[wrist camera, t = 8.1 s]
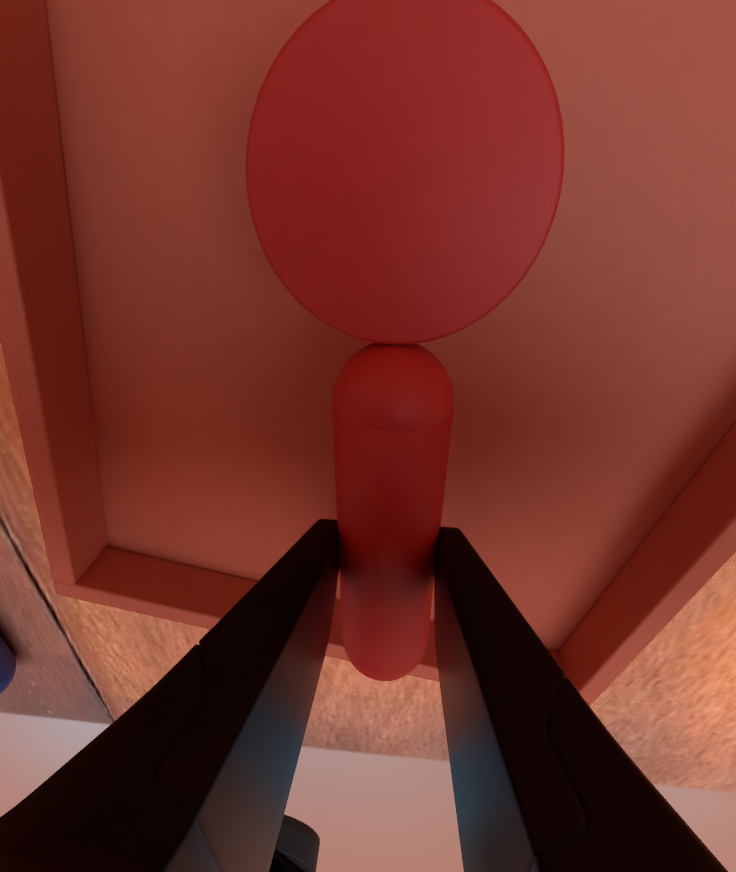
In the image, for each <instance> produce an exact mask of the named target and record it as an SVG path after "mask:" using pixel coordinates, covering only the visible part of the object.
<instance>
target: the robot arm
mask: <svg viewBox="0 0 736 872" xmlns="http://www.w3.org/2000/svg"><path fill="white" fill-rule="evenodd" d="M339 568H340V562H339V538H338V524H337V520H336V519H319V520H317V521H316V522H315V523H314V524H313V525H312V526H311V527H310V528H309V529H308V530H307V532H306V533H305V534H304V535H303V536H302V537H301V538H300V539H299V540H298V541H297V542H296V543H295V544H294V545H293V546H292V547H291V548H290V549H289V550H288V551H287V552H286V553H285V554H284V555H283V556H282V557H281V558H280V559H279V560H278V561H277V562H276V563H275V564H274V565H273V566H272V567H271V568H270V569H269V570H268V571H267V572H266V573H265V574H264V576H263V577H262V578H261V579H260V580H259V581H258V582H257V583H256V584H255V585H254V586H253V587H252V588H251V589H250V590H249V591H248V592H247V593H246V594H245V595H244V596H243V597H242V598H241V599H240V600H239V601H238V602H237V603H236V604H235V605H234V606H233V607H232V608H231V609H230V610H229V611H228V612H227V613H226V614H225V615H224V616H223V617H222V618H221V619H220V621H219V622H218V623H217V624H216V625H215V626H214V627H213V628H212V629H211V630H210V631H209V632H208V633H207V634H206V635H205V636H204V637H203V638H202V639H201V640H200V641H199V645H200V646H199V645H195V646H194V647H193V648H192V649H191V650H190V651H189V652H188V653H187V654H186V655H185V656H184V657H183V658H182V659H181V660H180V661H179V662H178V663H177V664H176V665H175V666H174V667H173V668H172V669H171V670H170V671H169V672H168V673H167V674H166V675H165V676H164V677H163V678H162V679H161V680H160V681H159V682H158V683H157V684H156V685H155V686H154V687H153V688H152V689H150V690H149V691H148V692H147V693H146V694H145V695H144V696H143V697H141V698H140V699H139V700H138V701H137V702H136V703H135V704H134V705H133V706H131V707H130V708H129V709H128V710H127V711H126V712H125V713H124V714H123V715H121V716H120V717H119V718H118V719H117V720H116V721H115V722H113V723H112V724H111V725H110V726H109V727H108V728H106V729H105V730H104V731H103V732H102V733H101V734H99V735H98V736H97V737H96V738H95V739H94V740H93V741H91V742H90V743H89V744H88V745H87V746H86V747H84V749H82V750H81V751H80V752H79V753H77V754H76V755H75V756H74V757H73V758H72V759H70V760H69V761H68V762H67V763H66V764H65V765H63V766H62V767H61V768H60V769H59V770H58V771H56V772H55V773H54V774H53V775H52V776H51V777H50V778H48V779H47V780H46V781H45V782H44V783H43V784H41V785H40V786H39V787H38V788H37V789H36V790H34V791H33V792H32V793H31V794H30V795H28V796H27V797H26V798H25V799H24V800H22V801H21V802H20V803H19V804H17V805H16V806H15V807H14V808H13V809H11V810H10V811H8V812H7V813H6V814H4V815H3V816H1V817H0V872H305V871H304V870H302V869H301V868H300V867H298V866H297V865H296V864H295V863H293V862H292V861H291V860H290V859H288V858H287V857H286V856H284V855H283V854H282V853H281V852H279V851H278V850H277V849H275V846H276V842H277V838H278V834H279V831H280V827H281V823H282V819H283V815H284V811H285V807H286V804H287V800H288V796H289V792H290V788H291V784H292V780H293V776H294V772H295V769H296V765H297V761H298V757H299V753H300V749H301V746H302V742H303V738H304V734H305V730H306V726H307V722H308V719H309V715H310V711H311V707H312V703H313V699H314V695H315V692H316V688H317V684H318V680H319V676H320V672H321V668H322V665H323V661H324V657H325V653H326V649H327V645H328V641H329V636H330V632H331V626H332V620H333V612H334V605H335V598H336V590H337V583H338V576H339ZM434 632H435V648H436V657H437V665H438V673H439V681H440V688H441V696H442V704H443V712H444V720H445V727H446V735H447V743H448V751H449V759H450V766H451V774H452V782H453V790H454V797H455V805H456V813H457V821H458V828H459V836H460V843H461V852H462V860H463V868H464V872H728V871H727V870H726V869H725V868H724V866H723V865H722V864H721V863H720V862H719V861H718V860H717V858H716V857H715V856H714V855H713V854H712V853H711V851H710V850H709V849H708V848H707V847H706V846H705V845H704V843H703V842H702V841H701V840H700V839H699V838H698V836H697V835H696V834H695V833H694V832H693V831H692V830H691V828H690V827H689V826H688V825H687V824H686V822H685V821H684V820H683V819H682V818H681V817H680V816H679V814H678V813H677V812H676V811H675V810H674V809H673V807H672V806H671V805H670V804H669V803H668V802H667V800H666V799H665V798H664V797H663V796H662V795H661V794H660V793H659V791H658V790H657V789H656V788H655V787H654V785H653V784H652V783H651V782H650V781H649V780H648V778H647V777H646V776H645V775H644V774H643V773H642V771H641V770H640V769H639V768H638V767H637V765H636V764H635V763H634V762H633V761H632V759H631V758H630V757H629V756H628V755H627V753H626V752H625V751H624V750H623V749H622V747H621V746H620V745H619V744H618V743H617V741H616V740H615V739H614V738H613V737H612V735H611V734H610V733H609V732H608V730H607V729H606V728H605V726H604V725H603V724H602V722H601V721H600V720H599V718H598V717H597V716H596V715H595V713H594V712H593V711H592V709H591V708H590V707H589V705H588V704H587V703H586V701H585V700H584V699H583V697H582V696H581V695H580V693H579V692H578V690H577V689H576V688H575V686H574V685H573V683H572V682H571V681H570V679H569V678H565V673H564V671H563V670H562V669H561V667H560V666H559V664H558V663H557V662H556V660H555V659H554V658H553V656H552V655H551V653H550V652H549V651H548V649H547V648H546V647H545V645H544V644H543V642H542V641H541V640H540V638H539V637H538V636H537V634H536V633H535V631H534V630H533V629H532V627H531V626H530V624H529V623H528V622H527V620H526V619H525V618H524V616H523V615H522V613H521V612H520V611H519V609H518V608H517V607H516V605H515V604H514V602H513V601H512V600H511V598H510V597H509V596H508V594H507V593H506V591H505V590H504V589H503V587H502V586H501V585H500V583H499V582H498V580H497V579H496V578H495V576H494V575H493V574H492V572H491V571H490V569H489V568H488V567H487V565H486V564H485V563H484V561H483V560H482V558H481V557H480V556H479V554H478V553H477V552H476V550H475V549H474V547H473V546H472V545H471V543H470V542H469V540H468V539H467V538H466V536H465V535H464V534H463V532H462V531H461V530H460V529H459V528H457V527H443V526H441V527H440V530H439V533H438V542H437V551H436V560H435V569H434Z"/></svg>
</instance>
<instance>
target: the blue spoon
mask: <svg viewBox="0 0 736 872" xmlns="http://www.w3.org/2000/svg"><path fill="white" fill-rule="evenodd" d="M15 670H16V661H15V658H14V656H13V654H12V653H11V651H10V650H9V648H8V647H7V645H6V644H5V642H4V641H3V639H2V638H1V636H0V693H2V692H3V691H4V690H5V689H6V688H7V686H8V685H9V684H10V682H11V681H12V679H13V677H14V674H15Z"/></svg>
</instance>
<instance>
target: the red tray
mask: <svg viewBox="0 0 736 872" xmlns="http://www.w3.org/2000/svg"><path fill="white" fill-rule="evenodd" d="M328 1H330V0H0V340H1V345H2V349H3V354H4V359H5V363H6V368H7V372H8V377H9V381H10V386H11V390H12V395H13V400H14V404H15V409H16V413H17V418H18V422H19V427H20V432H21V436H22V441H23V445H24V450H25V454H26V459H27V464H28V468H29V473H30V477H31V482H32V486H33V491H34V496H35V500H36V505H37V509H38V514H39V518H40V523H41V528H42V532H43V537H44V541H45V546H46V550H47V555H48V560H49V564H50V569H51V573H52V578H53V580H54V585H55V589H56V593H57V594H58V595H62V596H67V597H71V598H75V599H80V600H84V601H89V602H93V603H97V604H102V605H106V606H110V607H115V608H119V609H124V610H128V611H132V612H137V613H141V614H145V615H150V616H154V617H159V618H163V619H167V620H172V621H176V622H180V623H185V624H189V625H194V626H198V627H202V628H207V629H212V628H213V627H214V626H215V625H216V624H217V623H218V622H219V621H220V619H221V618H222V617H223V616H224V615H225V614H226V613H227V612H228V611H229V610H230V609H231V608H232V607H233V606H234V605H235V604H236V603H237V602H238V601H239V600H240V599H241V598H242V597H243V596H244V595H245V594H246V593H247V592H248V591H249V590H250V589H251V588H252V587H253V586H254V585H255V584H256V583H257V582H258V581H259V580H260V579H261V578H262V577H263V576H264V574H265V573H266V572H267V571H268V570H269V569H270V568H271V567H272V566H273V565H274V564H275V563H276V562H277V561H278V560H279V559H280V558H281V557H282V556H283V555H284V554H285V553H286V552H287V551H288V550H289V549H290V548H291V547H292V546H293V545H294V544H295V543H296V542H297V541H298V540H299V539H300V538H301V537H302V536H303V535H304V534H305V533H306V532H307V530H308V529H309V528H310V527H311V526H312V525H313V524H314V523H315V522H316V521H317V520H319V519H336V520H337V506H336V483H335V460H334V438H333V415H332V396H333V388H334V384H335V381H336V377H337V376H338V374H339V372H340V370H341V368H342V367H343V365H344V364H345V363H346V361H347V360H348V359H349V358H350V357H351V356H352V355H353V354H354V353H356V352H357V351H358V350H360V349H361V348H363V347H364V346H367V345H369V344H372V343H374V342H369V341H365V340H361V339H358V338H355V337H352V336H349V335H347V334H344V333H342V332H340V331H338V330H336V329H334V328H332V327H330V326H328V325H327V324H325V323H324V322H322V321H321V320H319V319H318V318H316V317H315V316H314V315H312V314H311V313H310V312H309V311H308V310H307V309H305V308H304V307H303V306H302V305H301V304H300V303H299V302H298V301H297V300H296V299H295V298H294V297H293V296H292V295H291V293H290V292H289V291H288V290H287V289H286V288H285V286H284V285H283V283H282V282H281V281H280V279H279V278H278V276H277V275H276V274H275V272H274V270H273V268H272V267H271V265H270V263H269V261H268V259H267V258H266V256H265V254H264V251H263V249H262V246H261V244H260V242H259V239H258V237H257V234H256V230H255V227H254V223H253V220H252V217H251V212H250V206H249V201H248V195H247V184H246V149H247V140H248V134H249V128H250V121H251V118H252V114H253V110H254V107H255V103H256V100H257V96H258V94H259V92H260V89H261V87H262V84H263V82H264V80H265V77H266V75H267V73H268V71H269V69H270V67H271V66H272V64H273V62H274V60H275V59H276V57H277V55H278V53H279V52H280V50H281V49H282V47H283V46H284V45H285V43H286V42H287V41H288V40H289V38H290V37H291V36H292V34H293V33H294V32H295V30H296V29H297V28H298V27H299V26H300V25H301V24H302V23H303V22H304V21H305V20H306V19H307V18H308V17H309V16H310V15H312V14H313V13H314V12H315V11H316V10H317V9H319V8H320V7H322V6H323V5H324V4H326V3H327V2H328ZM491 1H493V2H494V3H496V4H497V5H499V6H500V7H501V8H502V9H503V10H504V11H505V12H506V13H507V14H509V15H510V16H511V17H512V18H513V19H514V20H515V21H516V22H517V23H518V24H519V25H520V27H521V28H522V29H523V31H524V32H525V33H526V35H527V36H528V37H529V39H530V40H531V41H532V43H533V44H534V45H535V47H536V49H537V51H538V53H539V54H540V56H541V58H542V60H543V62H544V64H545V65H546V67H547V69H548V72H549V75H550V78H551V80H552V83H553V86H554V88H555V91H556V94H557V98H558V103H559V107H560V112H561V116H562V123H563V133H564V143H565V149H564V173H563V181H562V188H561V195H560V199H559V202H558V206H557V210H556V214H555V218H554V221H553V223H552V226H551V228H550V231H549V234H548V236H547V239H546V241H545V243H544V245H543V247H542V249H541V251H540V253H539V255H538V257H537V259H536V260H535V262H534V263H533V265H532V266H531V268H530V269H529V271H528V272H527V274H526V275H525V277H524V278H523V279H522V281H521V282H520V283H519V284H518V285H517V287H516V288H515V289H514V290H513V291H512V293H511V294H510V295H509V296H508V297H507V298H506V299H505V300H503V301H502V302H501V303H500V304H499V305H498V306H497V307H496V308H495V309H494V310H492V311H491V312H490V313H488V314H487V315H486V316H484V317H483V318H482V319H480V320H479V321H477V322H475V323H473V324H472V325H470V326H468V327H466V328H465V329H463V330H461V331H458V332H456V333H454V334H451V335H449V336H447V337H443V338H440V339H436V340H433V341H429V342H423V343H417V344H418V345H420V346H422V347H424V348H426V349H427V350H429V351H430V352H431V353H432V354H434V355H435V356H436V357H437V358H438V359H439V361H440V362H441V363H442V364H443V366H444V367H445V369H446V371H447V373H448V375H449V377H450V379H451V382H452V386H453V391H454V412H453V421H452V430H451V438H450V447H449V456H448V465H447V474H446V482H445V491H444V500H443V509H442V518H441V526H443V527H457V528H459V529H460V530H461V531H462V532H463V534H464V535H465V536H466V538H467V539H468V540H469V542H470V543H471V545H472V546H473V547H474V549H475V550H476V552H477V553H478V554H479V556H480V557H481V558H482V560H483V561H484V563H485V564H486V565H487V567H488V568H489V569H490V571H491V572H492V574H493V575H494V576H495V578H496V579H497V580H498V582H499V583H500V585H501V586H502V587H503V589H504V590H505V591H506V593H507V594H508V596H509V597H510V598H511V600H512V601H513V602H514V604H515V605H516V607H517V608H518V609H519V611H520V612H521V613H522V615H523V616H524V618H525V619H526V620H527V622H528V623H529V624H530V626H531V627H532V629H533V630H534V631H535V633H536V634H537V636H538V637H539V638H540V640H541V641H542V642H543V644H544V645H545V647H546V648H547V649H548V651H549V652H550V653H551V655H552V656H553V658H554V659H555V660H556V662H557V663H558V664H559V666H560V667H561V669H562V670H563V671H564V673H565V678H569V679H570V681H571V682H572V683H573V685H574V686H575V688H576V689H577V690H578V692H579V693H580V695H581V696H582V697H583V699H584V700H585V701H586V703H587V704H588V705H589V706H590V705H591V703H593V702H594V701H595V700H596V699H597V698H598V697H599V696H600V695H601V694H602V693H603V692H604V691H605V690H606V688H607V687H608V686H609V685H610V684H611V683H612V682H613V681H614V680H615V679H616V678H617V677H618V676H619V675H620V674H621V673H622V671H623V670H624V669H625V668H626V667H627V666H628V665H629V664H630V663H631V662H632V661H633V660H634V659H635V658H636V657H637V656H638V655H639V653H640V652H641V651H642V650H643V649H644V648H645V647H646V646H647V645H648V644H649V643H650V642H651V641H652V640H653V639H654V638H655V637H656V635H657V634H658V633H659V632H660V631H661V630H662V629H663V628H664V627H665V626H666V625H667V624H668V623H669V622H670V621H671V620H672V618H673V617H674V616H675V615H676V614H677V613H678V612H679V611H680V610H681V609H682V608H683V607H684V606H685V605H686V604H687V603H688V602H689V600H690V599H691V598H692V597H693V596H694V595H695V594H696V593H697V592H698V591H699V590H700V589H701V588H702V587H703V586H704V585H705V584H706V582H707V581H708V580H709V579H710V578H711V577H712V576H713V575H714V574H715V573H716V572H717V571H718V570H719V569H720V568H721V567H722V565H723V564H724V563H725V562H726V561H727V560H728V559H729V558H730V557H731V556H732V555H733V554H734V553H735V552H736V0H491ZM441 526H440V527H441ZM325 656H329V657H334V658H338V659H342V660H347V661H350V660H349V658H348V656H347V654H346V652H345V649H344V644H343V639H342V620H341V598H340V575H339V576H338V583H337V590H336V598H335V605H334V612H333V620H332V626H331V632H330V636H329V641H328V645H327V649H326V653H325ZM408 675H412V676H417V677H421V678H426V679H430V680H434V681H439V673H438V665H437V657H436V648H435V632H434V588H433V597H432V606H431V614H430V623H429V632H428V641H427V646H426V649H425V652H424V655H423V657H422V659H421V661H420V662H419V664H418V665H417V666H416V667H415V669H414V670H413V671H412V672H410V673H409V674H408ZM439 682H440V681H439Z"/></svg>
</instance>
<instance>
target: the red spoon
mask: <svg viewBox="0 0 736 872" xmlns="http://www.w3.org/2000/svg"><path fill="white" fill-rule="evenodd" d="M564 149H565V143H564V133H563V123H562V116H561V112H560V107H559V103H558V98H557V94H556V91H555V88H554V86H553V83H552V80H551V78H550V75H549V72H548V69H547V67H546V65H545V64H544V62H543V60H542V58H541V56H540V54H539V53H538V51H537V49H536V47H535V45H534V44H533V43H532V41H531V40H530V39H529V37H528V36H527V35H526V33H525V32H524V31H523V29H522V28H521V27H520V25H519V24H518V23H517V22H516V21H515V20H514V19H513V18H512V17H511V16H510V15H509V14H507V13H506V12H505V11H504V10H503V9H502V8H501V7H500V6H499V5H497V4H496V3H494V2H493V1H491V0H330V1H328V2H327V3H326V4H324V5H323V6H322V7H320V8H319V9H317V10H316V11H315V12H314V13H313V14H312V15H310V16H309V17H308V18H307V19H306V20H305V21H304V22H303V23H302V24H301V25H300V26H299V27H298V28H297V29H296V30H295V32H294V33H293V34H292V36H291V37H290V38H289V40H288V41H287V42H286V43H285V45H284V46H283V47H282V49H281V50H280V52H279V53H278V55H277V57H276V59H275V60H274V62H273V64H272V66H271V67H270V69H269V71H268V73H267V75H266V77H265V80H264V82H263V84H262V87H261V89H260V92H259V94H258V96H257V100H256V103H255V107H254V110H253V114H252V118H251V121H250V128H249V134H248V140H247V149H246V184H247V195H248V201H249V206H250V212H251V217H252V220H253V223H254V227H255V230H256V234H257V237H258V239H259V242H260V244H261V246H262V249H263V251H264V254H265V256H266V258H267V259H268V261H269V263H270V265H271V267H272V268H273V270H274V272H275V274H276V275H277V276H278V278H279V279H280V281H281V282H282V283H283V285H284V286H285V288H286V289H287V290H288V291H289V292H290V293H291V295H292V296H293V297H294V298H295V299H296V300H297V301H298V302H299V303H300V304H301V305H302V306H303V307H304V308H305V309H307V310H308V311H309V312H310V313H311V314H312V315H314V316H315V317H316V318H318V319H319V320H321V321H322V322H324V323H325V324H327V325H328V326H330V327H332V328H334V329H336V330H338V331H340V332H342V333H344V334H347V335H349V336H352V337H355V338H358V339H361V340H365V341H369V342H374V343H372V344H369V345H367V346H364V347H363V348H361V349H360V350H358V351H357V352H356V353H354V354H353V355H352V356H351V357H350V358H349V359H348V360H347V361H346V363H345V364H344V365H343V367H342V368H341V370H340V372H339V374H338V376H337V377H336V381H335V384H334V388H333V396H332V415H333V438H334V460H335V483H336V506H337V524H338V538H339V562H340V568H339V575H340V598H341V620H342V639H343V644H344V649H345V652H346V654H347V656H348V658H349V660H350V661H351V663H352V664H353V666H354V667H355V668H356V669H357V670H358V671H359V672H361V673H362V674H364V675H365V676H367V677H369V678H372V679H374V680H379V681H392V680H397V679H399V678H402V677H404V676H406V675H407V674H409V673H410V672H412V671H413V670H414V669H415V667H416V666H417V665H418V664H419V662H420V661H421V659H422V657H423V655H424V652H425V649H426V646H427V641H428V632H429V623H430V614H431V606H432V597H433V588H434V569H435V560H436V551H437V542H438V533H439V530H440V526H441V518H442V509H443V500H444V491H445V482H446V474H447V465H448V456H449V447H450V438H451V430H452V421H453V412H454V391H453V386H452V382H451V379H450V377H449V375H448V373H447V371H446V369H445V367H444V366H443V364H442V363H441V362H440V361H439V359H438V358H437V357H436V356H435V355H434V354H432V353H431V352H430V351H429V350H427V349H426V348H424V347H422V346H420V345H418V344H417V343H423V342H429V341H433V340H436V339H440V338H443V337H447V336H449V335H451V334H454V333H456V332H458V331H461V330H463V329H465V328H466V327H468V326H470V325H472V324H473V323H475V322H477V321H479V320H480V319H482V318H483V317H484V316H486V315H487V314H488V313H490V312H491V311H492V310H494V309H495V308H496V307H497V306H498V305H499V304H500V303H501V302H502V301H503V300H505V299H506V298H507V297H508V296H509V295H510V294H511V293H512V291H513V290H514V289H515V288H516V287H517V285H518V284H519V283H520V282H521V281H522V279H523V278H524V277H525V275H526V274H527V272H528V271H529V269H530V268H531V266H532V265H533V263H534V262H535V260H536V259H537V257H538V255H539V253H540V251H541V249H542V247H543V245H544V243H545V241H546V239H547V236H548V234H549V231H550V228H551V226H552V223H553V221H554V218H555V214H556V210H557V206H558V202H559V199H560V195H561V188H562V181H563V173H564Z"/></svg>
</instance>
